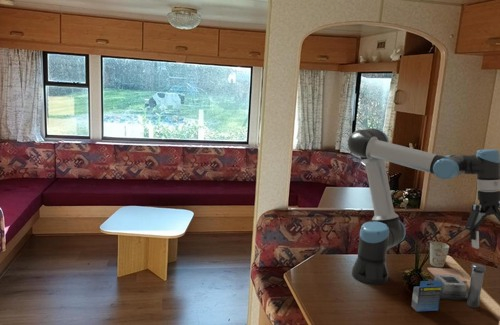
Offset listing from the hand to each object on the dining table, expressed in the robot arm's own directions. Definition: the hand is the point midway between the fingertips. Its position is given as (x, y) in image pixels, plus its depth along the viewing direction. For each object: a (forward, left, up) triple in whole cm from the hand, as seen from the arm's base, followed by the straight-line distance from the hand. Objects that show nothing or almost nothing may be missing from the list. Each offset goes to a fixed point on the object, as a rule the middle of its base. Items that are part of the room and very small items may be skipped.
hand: (489, 245), depth 156 cm
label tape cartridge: (-25, -7, -24) cm, 35 cm away
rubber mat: (-2, +24, -24) cm, 34 cm away
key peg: (-4, -2, -24) cm, 24 cm away
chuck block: (-8, +9, -24) cm, 27 cm away
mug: (0, +37, -24) cm, 44 cm away
